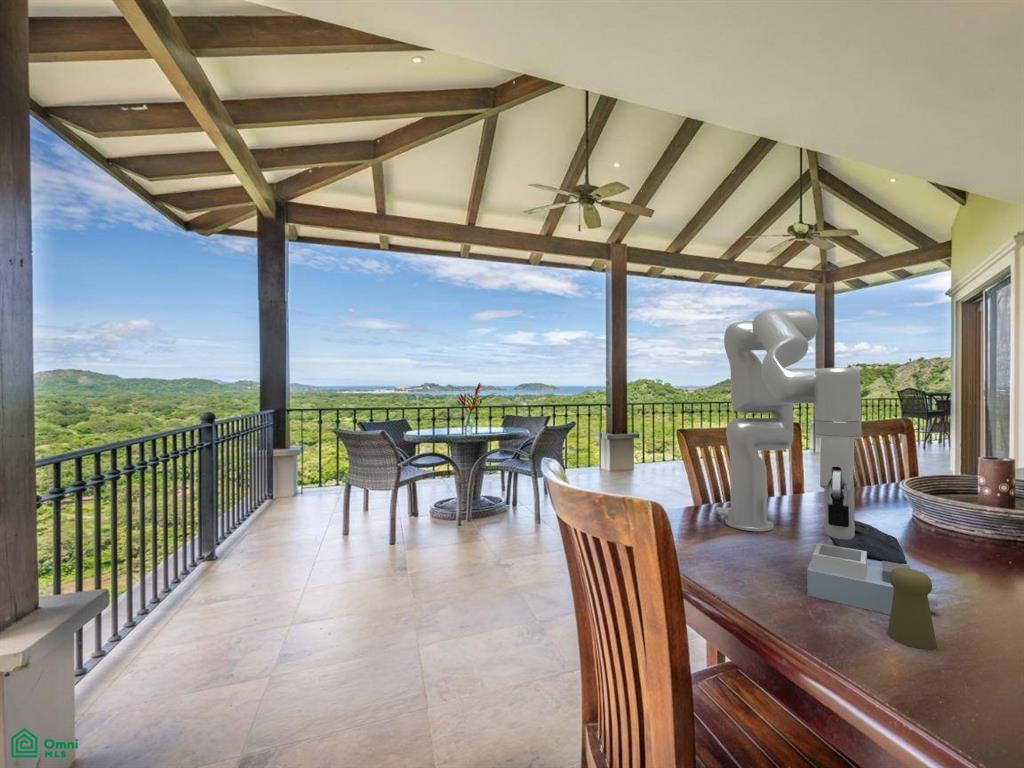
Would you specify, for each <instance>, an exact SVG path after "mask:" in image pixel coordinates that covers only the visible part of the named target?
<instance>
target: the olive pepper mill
mask: <svg viewBox="0 0 1024 768" xmlns="http://www.w3.org/2000/svg"><path fill="white" fill-rule="evenodd" d="M890 582H891V585H892V586H893V587H894V594H893V600H892V607H891V614H890V615H889V619H888V620H889V621H888V628H887V635H888V636H890V637H889V638H890V639H892V640H893V639H894V640H893V641H895V642H897V643H899V644H901V643H902V644H901V645H905V646H906V645H907V646H906V647H910V648H914V649H918V650H930V651H931V650H934V649H936V648H937V647H938V646H937V645H938V644H937V639H936V634H935V629H934V623H933V617H932V612H931V607H930V606H931V605H929V601H928V594H929V593H931V594H932V590H933V583H932V579H931V577H929V575H927V574H926V573H924V572H922V571H920V570H917V569H913V568H910V569H909V568H895V569H893V570H892V571H891V573H890Z"/></svg>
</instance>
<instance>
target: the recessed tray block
mask: <svg viewBox="0 0 1024 768" xmlns="http://www.w3.org/2000/svg"><path fill="white" fill-rule="evenodd" d="M881 561H882V564H881V565H882V567H879V566H875V565H869V564H868V557H867V551H862V550H856V549H850V548H844V547H839V546H838V545H837V546H836V545H831V544H825V543H820V542H818V543H816V546H815V547H814V550H813V553H812V556H811V559H810V562H809V564H808V567H807V569H806V572H807V576H806V578H807V585H806V586H807V596H808V597H811V596H812V597H811V598H815V597H816V599H819V600H820V599H821V600H825V601H829V602H834V603H839V604H842V605H847V606H851V607H855V608H859V609H864V610H867V609H868V611H873V612H877V613H882V614H885V615H888V616H890V614H891V607H892V600H893V594H894V587H893V586H892V585H891V582H890V573H891V571H892V570H893V569H895V568H909V569H911V565H909V564H904V563H893V562H888V561H883V560H881ZM928 601H929V606H932V607H938V606H939V605H938V595H937V594H936V593H935V594H934V593H932V592H931V593H929V594H928Z"/></svg>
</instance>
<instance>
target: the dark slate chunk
mask: <svg viewBox="0 0 1024 768" xmlns="http://www.w3.org/2000/svg"><path fill="white" fill-rule="evenodd" d="M830 537H831V536H830ZM831 538H832V540H833V542H835V544H836V545H837V546H838V547H844V548H850V549H856V550H862V551H867V558H869V559H874V560H875V559H876V560H880V561H887V562H892V563H898V564H904V565H908V564H907V563H908V561H907V559H906V556H905V552H904V551H903V548H902V546H901V545H900V543H899V540H898V539H897V537H895V536H893V535H890V534H889V533H886V532H884V531H881V530H879V529H878V528H876V527H875V526H872V525H870V524H867V523H865V522H861V521H859V520H856V519H855V536H854V537H853V538H852V539H838V538H834V537H831Z"/></svg>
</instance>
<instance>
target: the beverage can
mask: <svg viewBox="0 0 1024 768" xmlns="http://www.w3.org/2000/svg"><path fill="white" fill-rule="evenodd" d="M823 489H824V490H823V491H824V492H823V493H824V495H823V496H824V497H823V498H824V499H823V500H824V531H825V533H826V535H827V536H829V537H834V538H838V539H852V538H853V537H854V536H855V520H856V519H855V512H856V511H855V508H856V507H855V481H854V479H853V481H852V486H851V489H850V490H848V491H847V506H849V527H840V526H833V525H829V523H828V504H829V483H828V486H825V488H823ZM841 489H844V486H841ZM842 494H843V493H842Z"/></svg>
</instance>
